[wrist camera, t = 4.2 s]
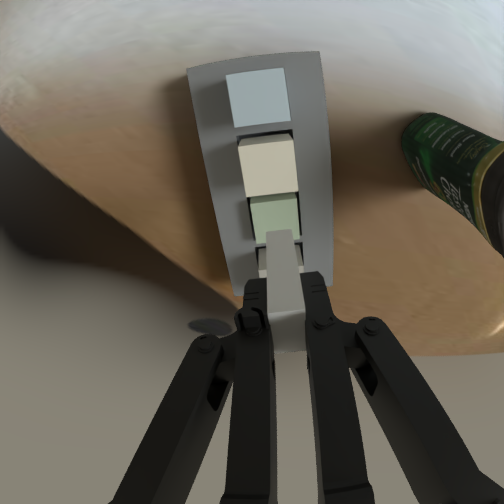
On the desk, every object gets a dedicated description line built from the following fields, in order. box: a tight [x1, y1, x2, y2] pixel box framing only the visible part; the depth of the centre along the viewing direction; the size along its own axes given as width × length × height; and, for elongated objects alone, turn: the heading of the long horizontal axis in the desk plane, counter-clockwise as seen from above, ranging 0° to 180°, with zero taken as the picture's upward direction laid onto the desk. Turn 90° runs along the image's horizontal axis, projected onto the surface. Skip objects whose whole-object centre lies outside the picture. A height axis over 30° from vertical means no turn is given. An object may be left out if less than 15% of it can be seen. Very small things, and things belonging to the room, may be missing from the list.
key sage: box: [250, 192, 300, 244], centre depth 29 cm, size 4×4×4 cm
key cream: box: [238, 133, 298, 197], centre depth 24 cm, size 4×4×4 cm
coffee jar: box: [402, 113, 504, 258], centre depth 19 cm, size 10×8×19 cm
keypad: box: [186, 51, 333, 296], centre depth 29 cm, size 26×12×4 cm, turn 8°
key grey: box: [258, 245, 304, 278], centre depth 30 cm, size 4×4×4 cm
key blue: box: [226, 68, 291, 128], centre depth 21 cm, size 4×4×4 cm
